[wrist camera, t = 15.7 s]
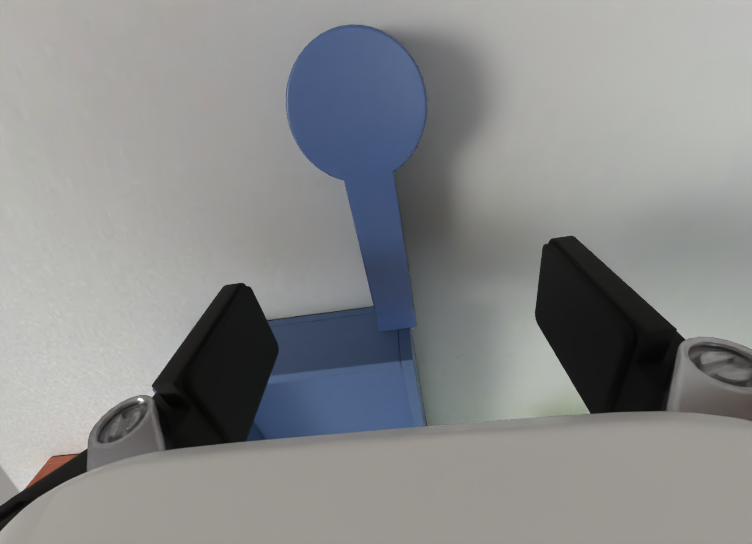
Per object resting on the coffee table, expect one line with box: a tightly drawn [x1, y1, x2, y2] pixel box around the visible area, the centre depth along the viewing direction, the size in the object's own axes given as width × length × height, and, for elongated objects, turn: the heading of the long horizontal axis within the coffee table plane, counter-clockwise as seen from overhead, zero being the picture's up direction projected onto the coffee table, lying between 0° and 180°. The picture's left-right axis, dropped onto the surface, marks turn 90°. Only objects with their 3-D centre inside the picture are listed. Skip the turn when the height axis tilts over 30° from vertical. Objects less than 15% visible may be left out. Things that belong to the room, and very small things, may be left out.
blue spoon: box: [286, 25, 427, 332], centre depth 12 cm, size 4×10×2 cm, turn 10°
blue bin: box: [153, 307, 427, 442], centre depth 18 cm, size 11×14×4 cm
